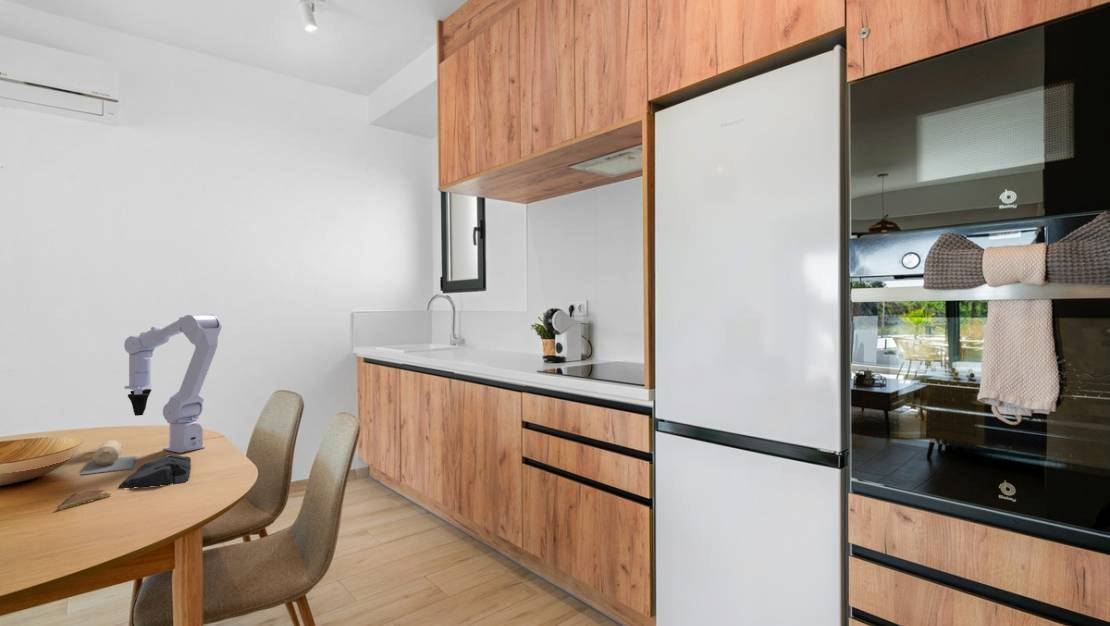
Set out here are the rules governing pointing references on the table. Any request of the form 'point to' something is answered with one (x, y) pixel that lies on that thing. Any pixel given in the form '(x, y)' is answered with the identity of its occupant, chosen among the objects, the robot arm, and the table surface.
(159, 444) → the table surface
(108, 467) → the slate mat
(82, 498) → the shard
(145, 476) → the dark slate chunk
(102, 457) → the candle
